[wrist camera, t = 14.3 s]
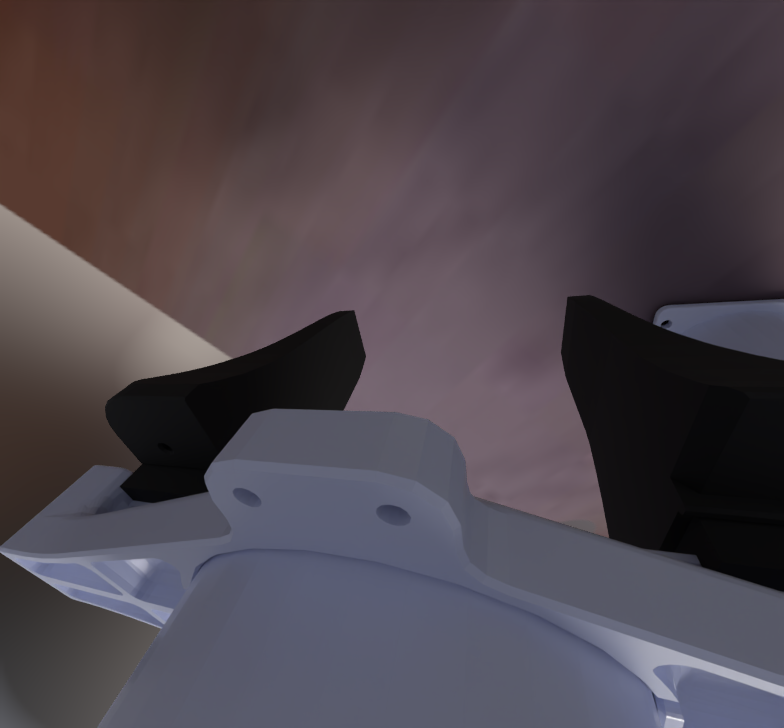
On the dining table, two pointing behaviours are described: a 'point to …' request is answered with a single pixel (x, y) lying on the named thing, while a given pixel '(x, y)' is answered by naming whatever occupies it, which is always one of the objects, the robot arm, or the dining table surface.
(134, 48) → the dining table surface
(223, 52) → the dining table surface
